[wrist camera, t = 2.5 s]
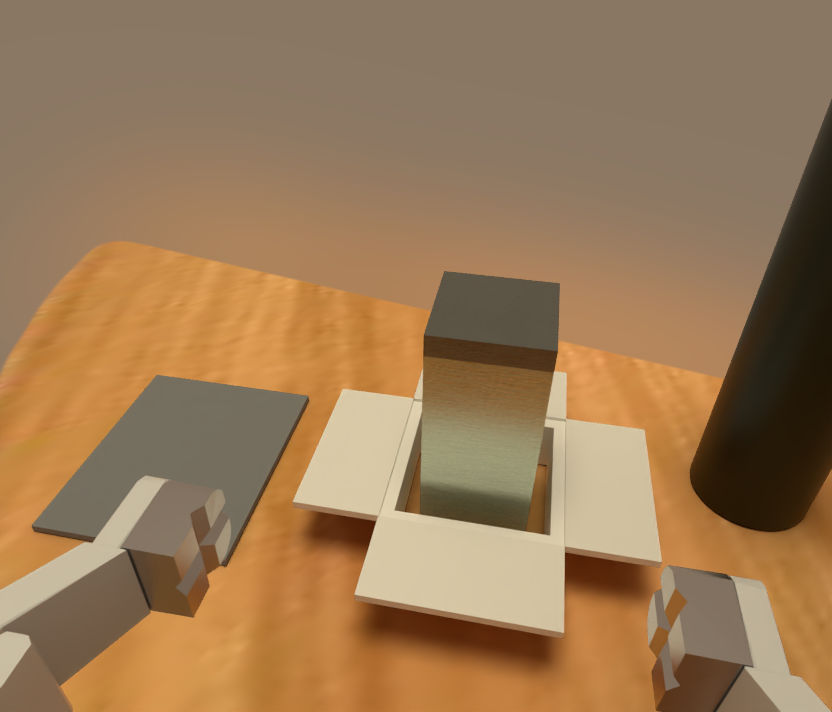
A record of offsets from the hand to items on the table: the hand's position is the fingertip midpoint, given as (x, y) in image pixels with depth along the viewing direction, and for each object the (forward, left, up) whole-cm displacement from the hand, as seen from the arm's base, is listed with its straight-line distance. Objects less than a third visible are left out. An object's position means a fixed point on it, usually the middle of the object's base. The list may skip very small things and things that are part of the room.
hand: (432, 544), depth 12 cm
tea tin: (0, -15, -16) cm, 22 cm away
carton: (0, -15, -16) cm, 22 cm away
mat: (+16, -15, -16) cm, 27 cm away
